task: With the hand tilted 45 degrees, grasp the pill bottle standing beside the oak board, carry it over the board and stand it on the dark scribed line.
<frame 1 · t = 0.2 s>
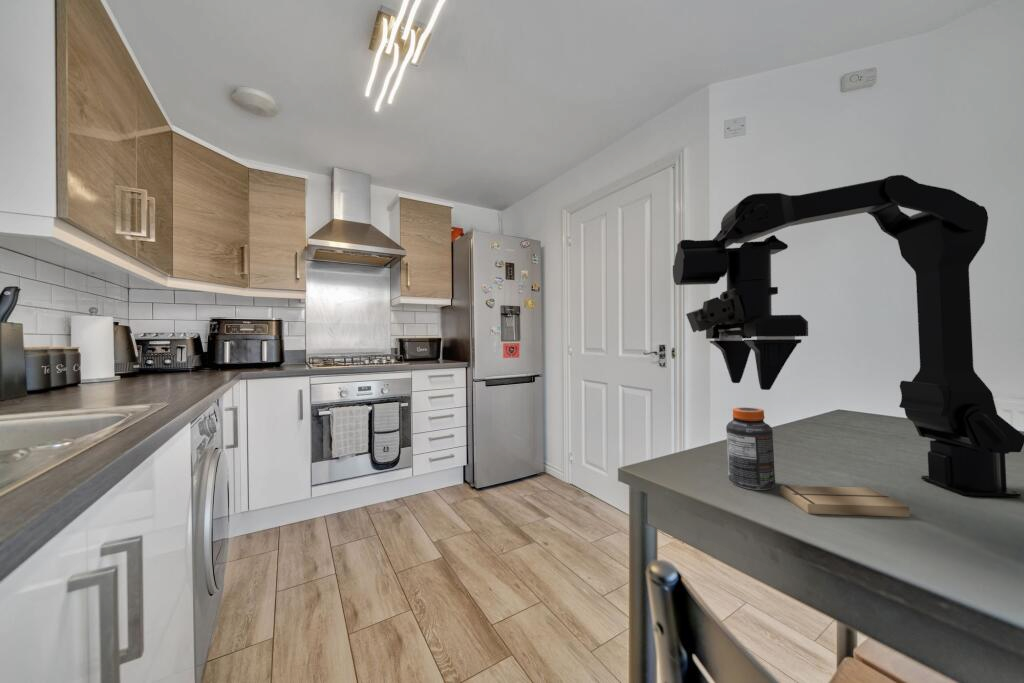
hand: (749, 386, 57), 15 cm above the table, tool pointing down, fingers open, 9 cm apart
oak board: (840, 504, 48), on the table
pill bottle: (751, 484, 56), on the table
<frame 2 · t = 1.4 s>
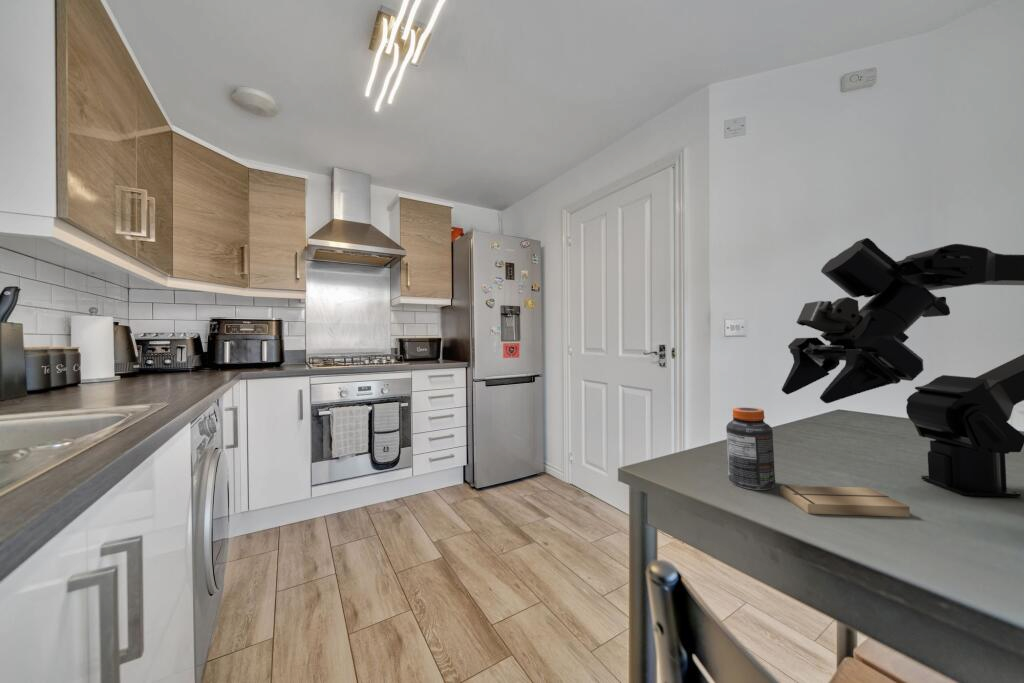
hand: (802, 396, 55), 13 cm above the table, tool tilted 45°, fingers open, 9 cm apart
nothing on the table moved.
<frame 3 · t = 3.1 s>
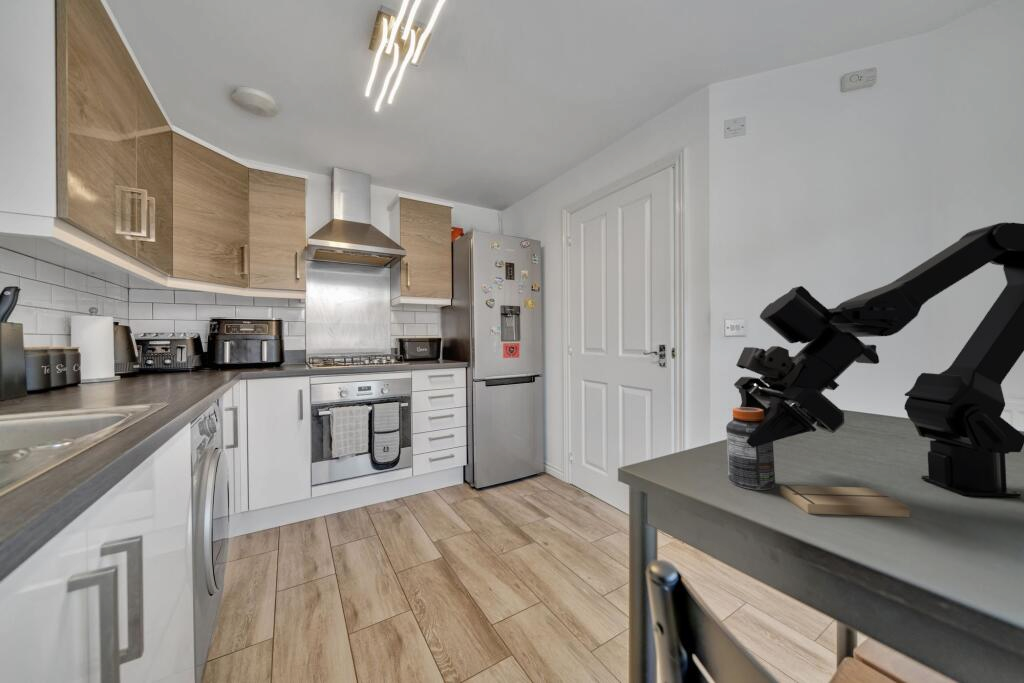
hand: (739, 439, 57), 7 cm above the table, tool tilted 45°, fingers closed on pill bottle, 6 cm apart
pill bottle: (751, 484, 56), on the table, touching gripper
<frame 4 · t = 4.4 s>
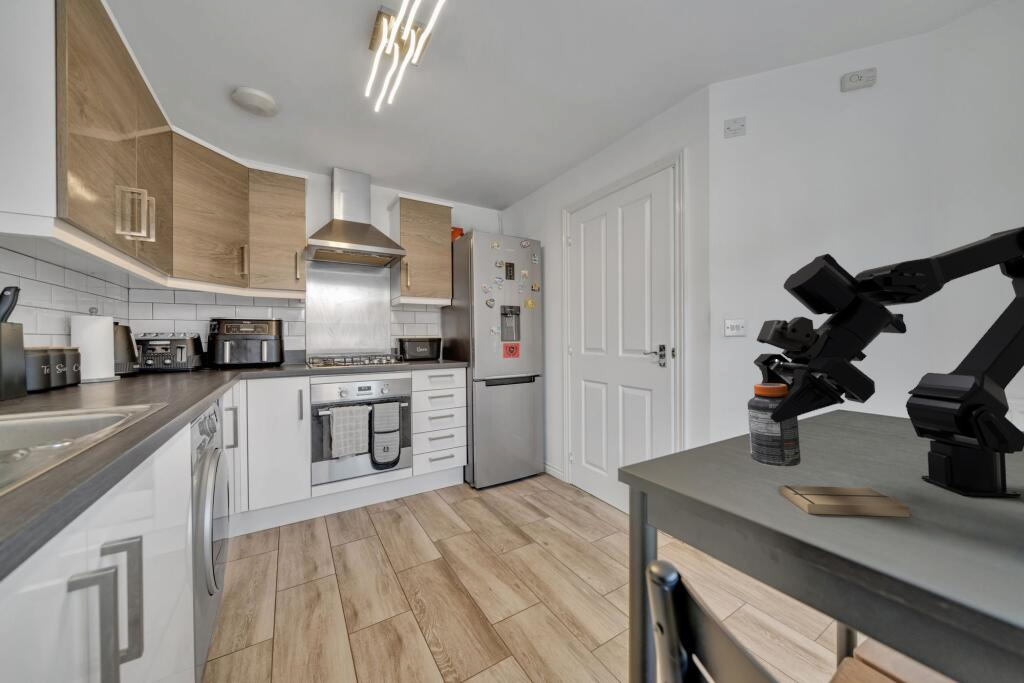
hand: (762, 415, 55), 10 cm above the table, tool tilted 45°, fingers closed on pill bottle, 6 cm apart
pill bottle: (775, 462, 54), point 4 cm above the table, touching gripper
when the fingers open (9 cm above the table, at t = 5.9 s): pill bottle stays where it is, resting on oak board.
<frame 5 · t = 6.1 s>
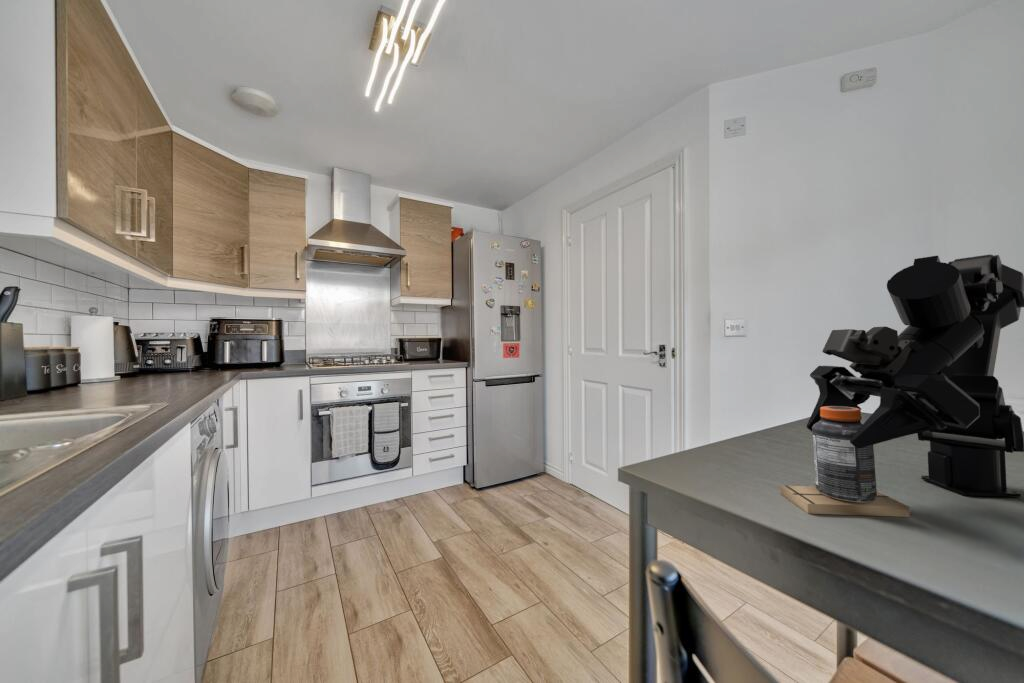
hand: (829, 436, 49), 9 cm above the table, tool tilted 45°, fingers open, 8 cm apart
pill bottle: (845, 496, 48), point 1 cm above the table, touching oak board
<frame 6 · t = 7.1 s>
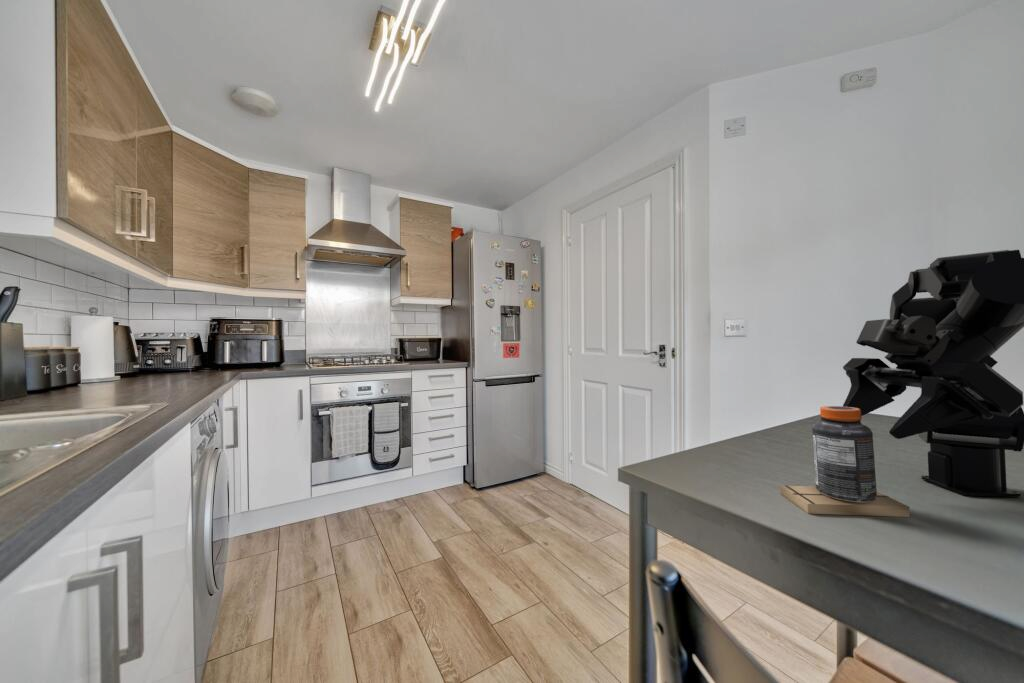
hand: (864, 427, 48), 10 cm above the table, tool tilted 45°, fingers open, 9 cm apart
nothing on the table moved.
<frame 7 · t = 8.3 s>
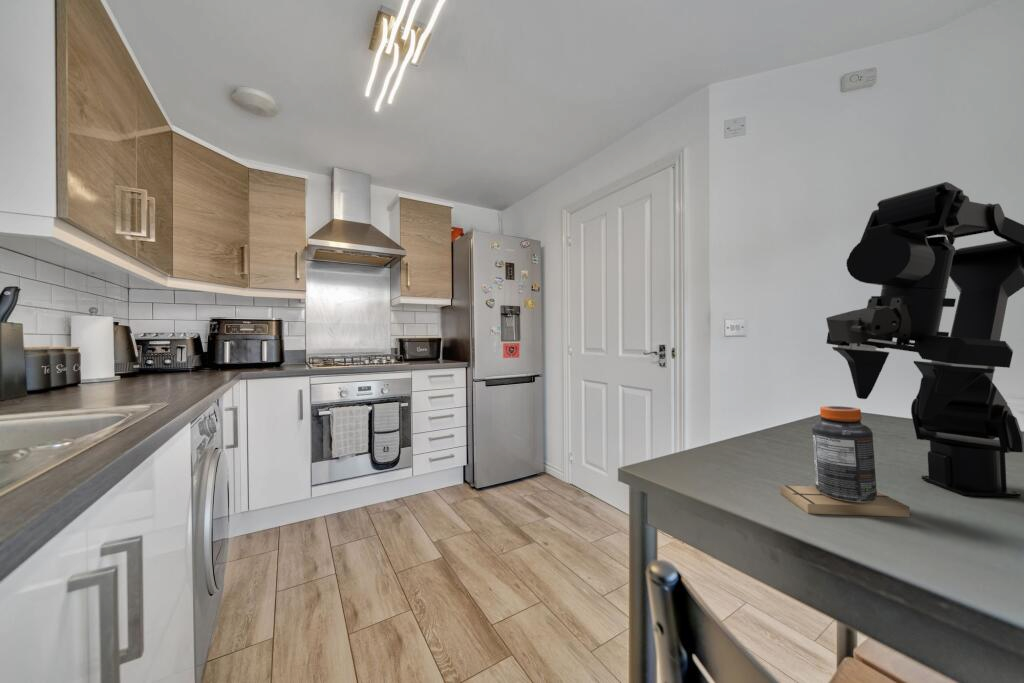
hand: (890, 407, 50), 12 cm above the table, tool pointing down, fingers open, 9 cm apart
nothing on the table moved.
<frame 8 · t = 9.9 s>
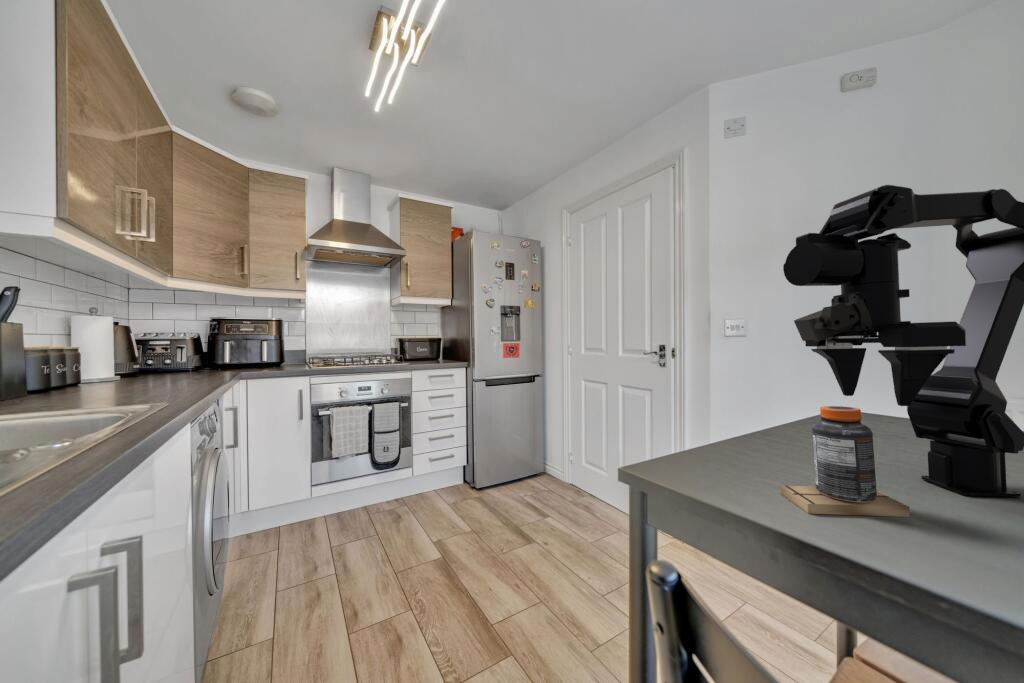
hand: (873, 400, 51), 13 cm above the table, tool pointing down, fingers open, 9 cm apart
nothing on the table moved.
at the end: pill bottle inside the target area (0.7 cm from its centre), point 1.1 cm above the table; pill bottle tilted 1°; the gripper is holding nothing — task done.
